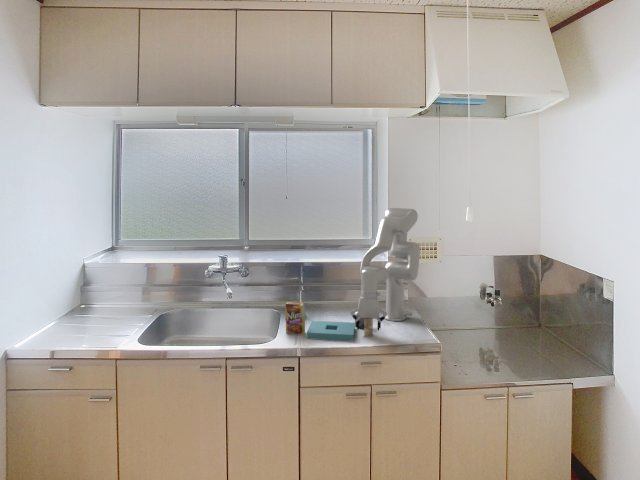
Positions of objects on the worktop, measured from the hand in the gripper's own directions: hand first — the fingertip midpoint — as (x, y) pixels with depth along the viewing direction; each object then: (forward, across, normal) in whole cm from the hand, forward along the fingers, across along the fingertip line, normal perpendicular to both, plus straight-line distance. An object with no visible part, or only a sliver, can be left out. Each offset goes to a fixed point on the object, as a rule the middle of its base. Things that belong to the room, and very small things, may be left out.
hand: (368, 329), depth 184 cm
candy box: (+4, +36, +2) cm, 36 cm away
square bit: (+3, 0, 0) cm, 3 cm away
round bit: (+3, +4, -11) cm, 12 cm away
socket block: (+3, +18, 0) cm, 18 cm away
